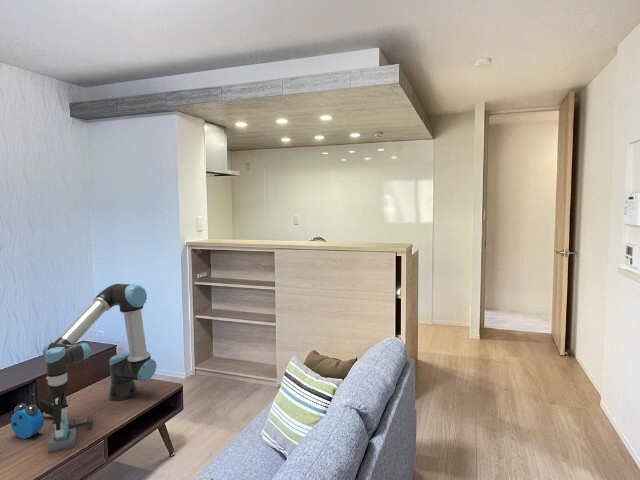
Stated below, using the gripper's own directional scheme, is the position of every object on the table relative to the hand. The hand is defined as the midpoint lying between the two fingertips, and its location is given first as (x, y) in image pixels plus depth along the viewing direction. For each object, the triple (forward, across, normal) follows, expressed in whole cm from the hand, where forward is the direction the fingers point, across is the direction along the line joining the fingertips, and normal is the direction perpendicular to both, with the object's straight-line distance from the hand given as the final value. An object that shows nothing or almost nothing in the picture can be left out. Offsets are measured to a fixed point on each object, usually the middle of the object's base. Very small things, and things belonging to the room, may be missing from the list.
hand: (61, 429), depth 187 cm
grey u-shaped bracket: (+7, -12, +6) cm, 15 cm away
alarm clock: (+7, -16, -16) cm, 24 cm away
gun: (+8, -30, -8) cm, 32 cm away
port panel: (+7, 0, 0) cm, 7 cm away
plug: (+7, 0, 0) cm, 7 cm away
